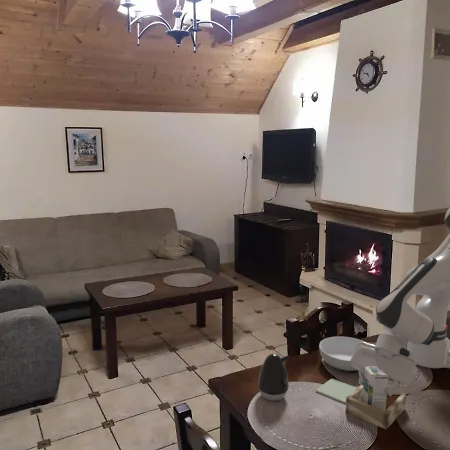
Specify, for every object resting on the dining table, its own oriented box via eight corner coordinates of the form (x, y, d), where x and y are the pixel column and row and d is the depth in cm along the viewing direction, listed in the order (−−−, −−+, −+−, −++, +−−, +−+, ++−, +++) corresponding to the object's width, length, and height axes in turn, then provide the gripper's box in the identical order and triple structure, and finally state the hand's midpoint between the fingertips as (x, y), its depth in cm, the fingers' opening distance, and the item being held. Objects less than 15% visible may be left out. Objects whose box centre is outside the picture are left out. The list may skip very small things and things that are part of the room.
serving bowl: (311, 369, 174) (312, 352, 173) (326, 348, 192) (327, 332, 191) (367, 383, 164) (369, 365, 163) (378, 359, 183) (379, 343, 181)
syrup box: (360, 407, 149) (363, 366, 146) (378, 407, 149) (381, 365, 147) (367, 418, 143) (370, 375, 141) (385, 417, 144) (389, 374, 141)
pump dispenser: (292, 403, 151) (294, 360, 148) (262, 406, 149) (263, 362, 146) (283, 387, 161) (284, 346, 158) (254, 389, 159) (255, 348, 156)
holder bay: (365, 393, 157) (366, 380, 156) (404, 408, 148) (406, 394, 148) (345, 411, 146) (346, 397, 146) (386, 429, 138) (387, 414, 137)
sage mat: (331, 379, 166) (331, 378, 166) (360, 390, 159) (360, 389, 159) (315, 391, 158) (315, 390, 158) (345, 403, 151) (345, 402, 151)
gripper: (356, 336, 154) (341, 374, 149) (418, 355, 141) (404, 397, 136) (361, 344, 159) (346, 381, 153) (422, 363, 145) (408, 405, 140)
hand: (374, 389), depth 144 cm, fingers closed on syrup box, 8 cm apart
